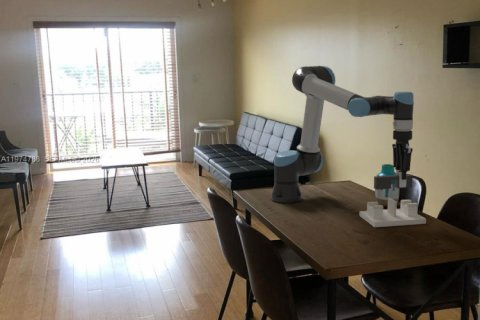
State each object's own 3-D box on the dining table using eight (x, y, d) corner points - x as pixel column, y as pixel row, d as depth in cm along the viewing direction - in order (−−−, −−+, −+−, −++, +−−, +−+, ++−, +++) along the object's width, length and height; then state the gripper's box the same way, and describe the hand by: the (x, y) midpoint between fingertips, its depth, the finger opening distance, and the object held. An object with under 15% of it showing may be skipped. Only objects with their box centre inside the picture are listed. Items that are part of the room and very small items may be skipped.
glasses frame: (373, 188, 207) (374, 176, 206) (409, 185, 209) (409, 174, 208) (376, 189, 205) (376, 177, 204) (411, 187, 207) (412, 175, 206)
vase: (390, 210, 223) (391, 168, 219) (370, 205, 230) (371, 165, 227) (403, 205, 229) (404, 164, 226) (383, 201, 237) (384, 162, 234)
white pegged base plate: (359, 215, 216) (359, 196, 214) (407, 212, 219) (407, 193, 217) (374, 227, 200) (375, 206, 199) (425, 223, 203) (426, 203, 202)
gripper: (385, 128, 210) (384, 182, 214) (402, 132, 195) (400, 191, 199) (402, 127, 211) (400, 181, 215) (420, 131, 196) (418, 189, 200)
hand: (400, 186), depth 207 cm, fingers closed on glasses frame, 2 cm apart
